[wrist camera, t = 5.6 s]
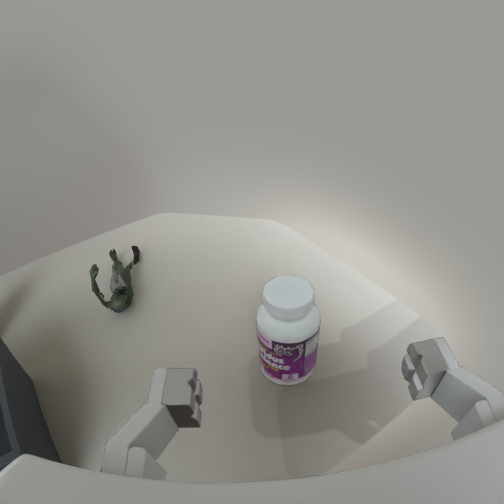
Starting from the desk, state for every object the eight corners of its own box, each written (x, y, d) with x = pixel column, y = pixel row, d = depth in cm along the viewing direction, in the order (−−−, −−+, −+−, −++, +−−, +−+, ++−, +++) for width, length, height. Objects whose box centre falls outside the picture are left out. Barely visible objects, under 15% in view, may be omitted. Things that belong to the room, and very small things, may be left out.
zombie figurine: (131, 218, 45) (124, 279, 33) (141, 257, 49) (140, 324, 36) (97, 225, 44) (79, 288, 32) (109, 263, 48) (99, 331, 35)
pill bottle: (250, 376, 29) (240, 301, 24) (274, 339, 33) (271, 263, 28) (303, 395, 27) (308, 322, 22) (323, 353, 31) (331, 277, 25)
